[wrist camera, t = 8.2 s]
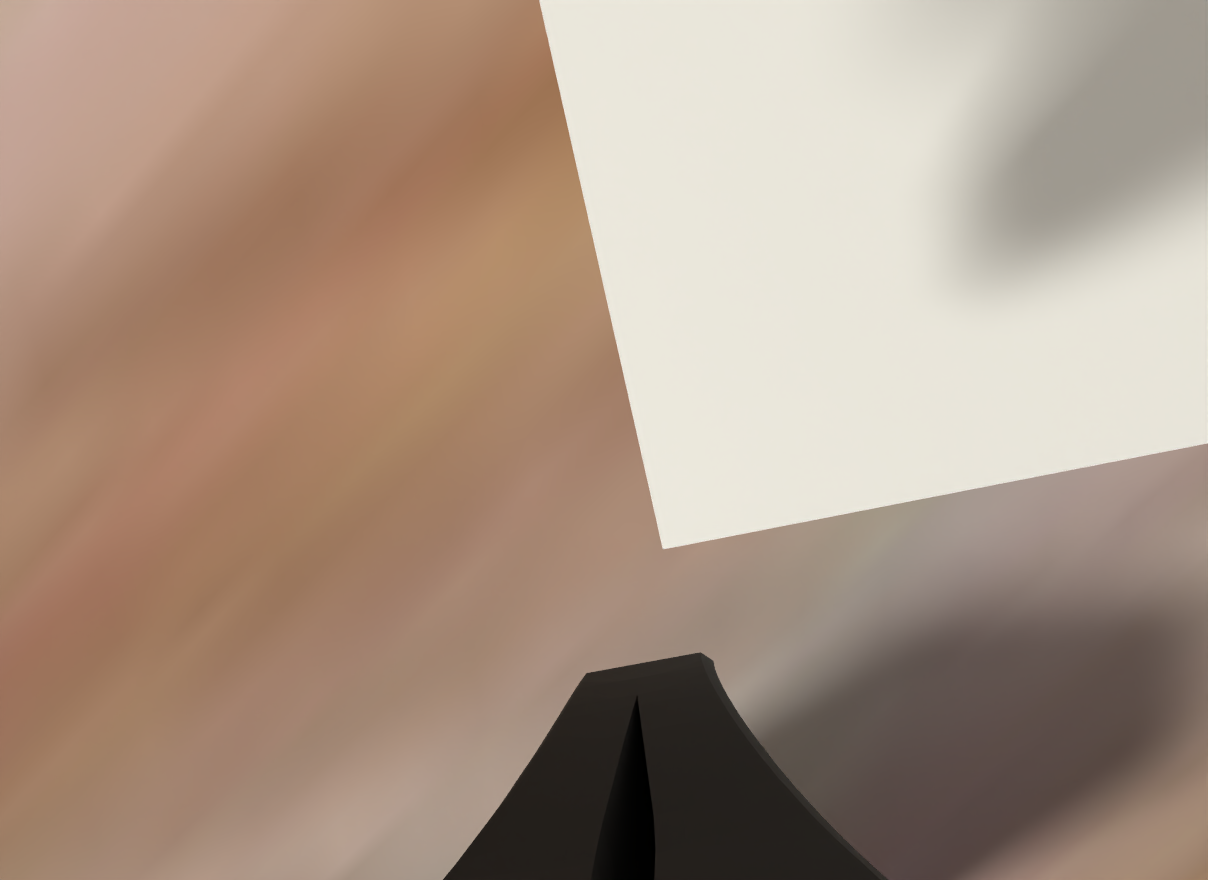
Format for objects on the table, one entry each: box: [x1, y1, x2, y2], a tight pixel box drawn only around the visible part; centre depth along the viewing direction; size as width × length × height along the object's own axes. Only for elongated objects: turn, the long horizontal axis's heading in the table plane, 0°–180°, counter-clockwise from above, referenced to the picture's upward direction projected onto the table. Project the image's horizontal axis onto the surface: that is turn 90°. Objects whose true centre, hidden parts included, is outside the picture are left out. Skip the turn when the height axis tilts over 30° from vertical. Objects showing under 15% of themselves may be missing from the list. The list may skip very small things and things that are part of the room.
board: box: [539, 0, 1208, 549], centre depth 15 cm, size 12×14×2 cm
